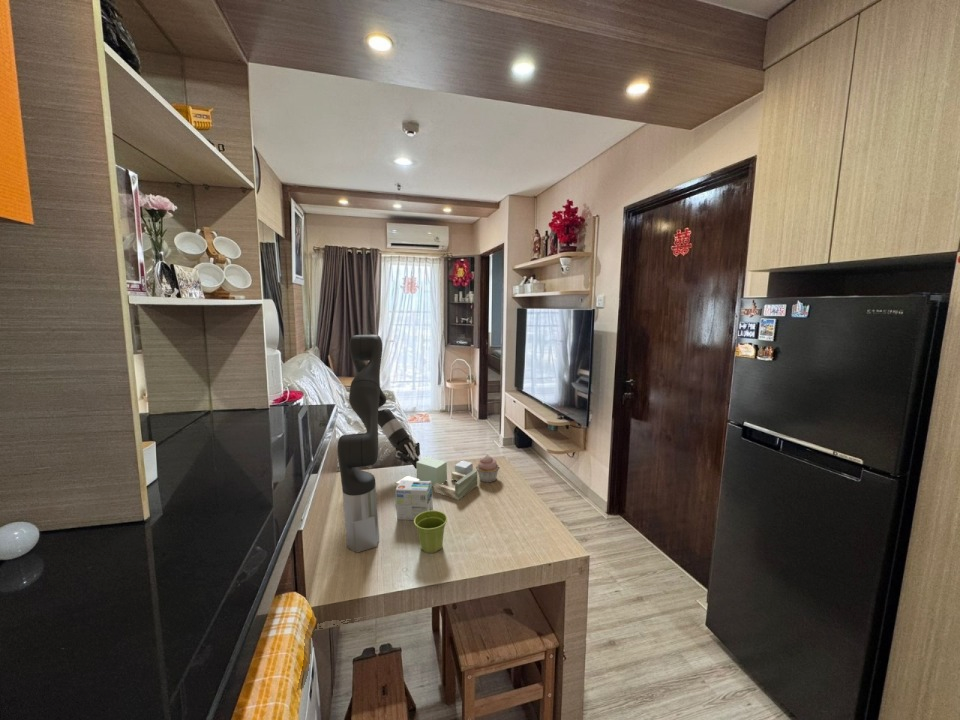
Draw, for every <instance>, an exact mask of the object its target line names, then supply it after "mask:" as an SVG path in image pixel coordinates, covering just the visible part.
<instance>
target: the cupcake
mask: <svg viewBox="0 0 960 720" xmlns="http://www.w3.org/2000/svg"><path fill="white" fill-rule="evenodd" d="M475 468H476V469H475V470H476V471H477V475H478V476H479V477H478V478H479V480H480V481H481V482H483V483H493V482H495V481H496V479H497V477H498V474H499V473H498V472H499V470H500V468H501V467H500V466H499V464H498V463H497V460H496V459H495V458H494V457H493V456H490V455H489V454H486V455H485V456H483V457H482V458H480V460H479V461H478V463H477V465H476V466H475Z"/></svg>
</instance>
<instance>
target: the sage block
mask: <svg viewBox="0 0 960 720" xmlns="http://www.w3.org/2000/svg"><path fill="white" fill-rule="evenodd" d="M447 465H448V464H447V461H445V460H441V459H437V458H433V457H430V456H424V457H423V458H420V459H419V461H417V462H416V468H417V469H416V468H415V469H416V478H417V479H420V481H431V483H432V485H433V486H434V484H435V483H439V484H442V483H444V482H445V481H446V480H447V481H448V468H447V467H448V466H447ZM445 483H446V482H445ZM445 483H444V484H445ZM433 486H432V487H433Z"/></svg>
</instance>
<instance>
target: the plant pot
mask: <svg viewBox="0 0 960 720" xmlns="http://www.w3.org/2000/svg"><path fill="white" fill-rule="evenodd" d="M447 522H448V517H447V514H445V513H444V512H443V511H439V510H433V511H426V512H423V513H420V514H418V515H417V516H416V517H415V519H414V520H413V524H414V526H415V527H416V530H417V533H418V534H417V535H418V539H419V544H420V548H421V550H422V551H423V552H425V553H427V554H433V553H436V552H437V551H441V549H442V548H443V541H444V533H445V527H446V523H447Z"/></svg>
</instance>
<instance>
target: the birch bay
mask: <svg viewBox="0 0 960 720" xmlns="http://www.w3.org/2000/svg"><path fill="white" fill-rule="evenodd" d="M452 479H453V480H456V481H457V482H456V481H455V482H454V487H452V486H448V485H446V484H439V483H435V484H434V488H433V490H434V491H435V492H434V491H433V492H434V493H436V492H438V493H437V494H439V493H441V494H440V495H442V494H444V495H443V496H445V495H447V496H446V497H448V496H450V497H449V498H451V497H452V498H451V499H454V498H455V499H454V500H457V501H460V500H462V498H463V496H464V497H465V496H466V495H467V494H469V493H470V492H471V491H473V490H474V489H475V488H476V487H478V486H477V485H478V471H477V469H473V471H471V472H470V473H469V474H467V475H465V474H461V473H458V472H455V470H454V471H452V472H451V480H452ZM453 480H452V481H453ZM474 487H475V488H474ZM473 488H474V489H473ZM472 489H473V490H472ZM469 491H470V492H469ZM468 492H469V493H468ZM459 499H460V500H459Z"/></svg>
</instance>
